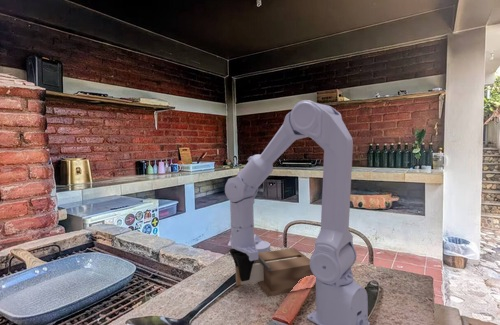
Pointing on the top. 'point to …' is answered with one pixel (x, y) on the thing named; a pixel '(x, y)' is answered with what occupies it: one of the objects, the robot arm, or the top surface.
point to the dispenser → (283, 270)
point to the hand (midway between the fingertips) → (243, 278)
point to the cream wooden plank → (253, 274)
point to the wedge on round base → (259, 245)
